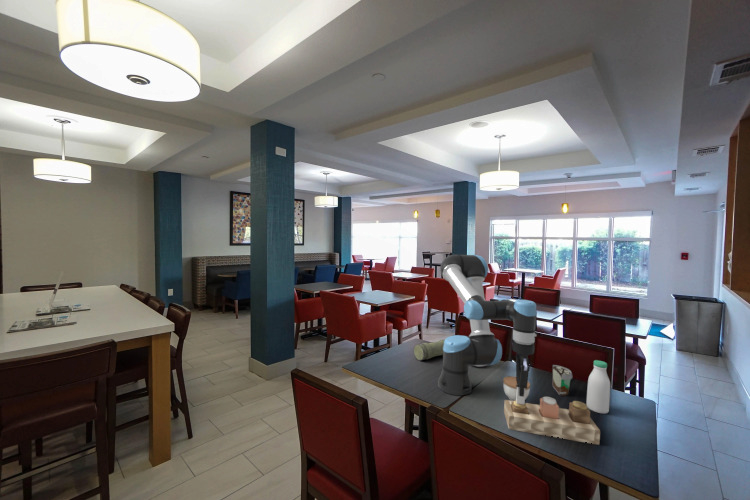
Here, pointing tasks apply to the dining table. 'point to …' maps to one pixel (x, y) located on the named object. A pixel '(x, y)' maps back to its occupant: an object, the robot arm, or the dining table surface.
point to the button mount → (551, 424)
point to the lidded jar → (513, 387)
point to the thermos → (429, 350)
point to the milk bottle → (598, 388)
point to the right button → (579, 412)
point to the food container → (561, 379)
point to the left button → (519, 408)
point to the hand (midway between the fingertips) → (520, 402)
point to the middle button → (549, 407)
